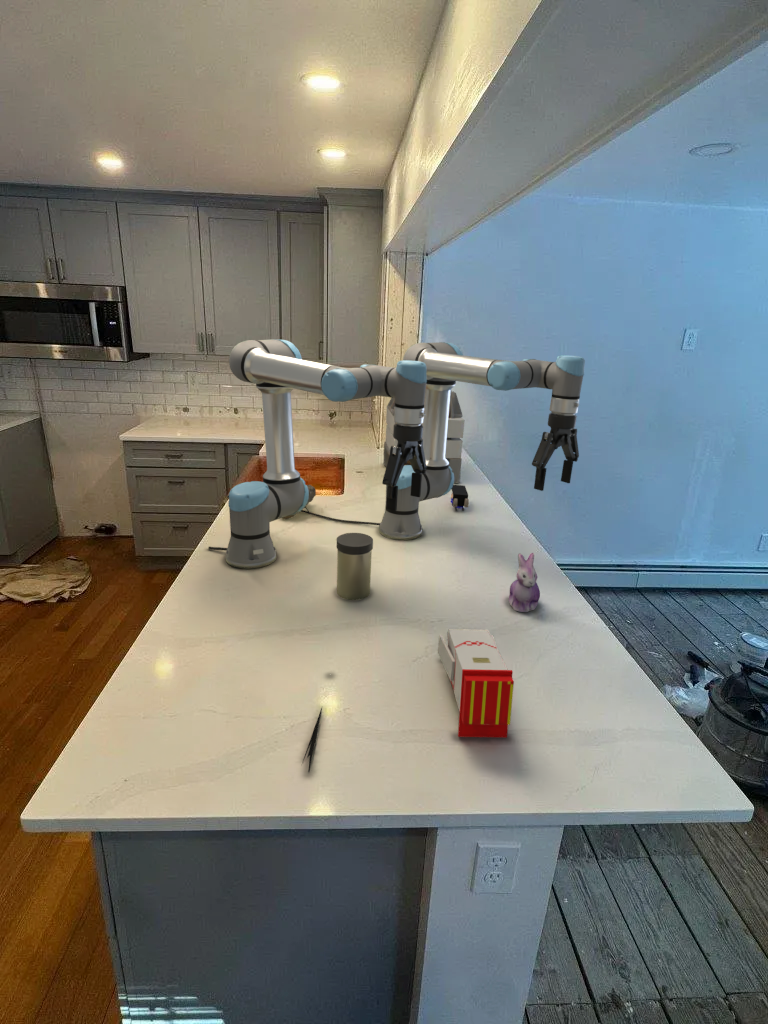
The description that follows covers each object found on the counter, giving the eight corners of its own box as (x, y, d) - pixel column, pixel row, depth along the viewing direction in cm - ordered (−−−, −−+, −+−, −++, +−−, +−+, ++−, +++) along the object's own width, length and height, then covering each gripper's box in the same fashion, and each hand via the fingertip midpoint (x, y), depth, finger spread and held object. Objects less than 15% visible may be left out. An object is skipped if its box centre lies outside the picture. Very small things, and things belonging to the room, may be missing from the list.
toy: (488, 613, 130) (523, 677, 101) (484, 667, 133) (517, 744, 104) (435, 612, 130) (455, 676, 101) (432, 666, 133) (451, 743, 103)
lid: (329, 548, 152) (329, 540, 151) (350, 537, 159) (350, 529, 159) (358, 557, 147) (359, 549, 146) (379, 545, 155) (380, 538, 154)
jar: (330, 593, 156) (330, 542, 151) (349, 581, 164) (351, 532, 158) (357, 603, 152) (358, 550, 146) (376, 590, 159) (378, 540, 154)
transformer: (382, 463, 289) (386, 382, 275) (445, 464, 293) (451, 384, 279) (390, 482, 257) (394, 392, 243) (460, 483, 261) (468, 394, 247)
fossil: (285, 490, 226) (313, 470, 221) (301, 508, 229) (329, 489, 224) (270, 515, 206) (301, 493, 201) (287, 534, 209) (318, 513, 204)
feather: (331, 679, 122) (336, 673, 122) (307, 777, 96) (313, 769, 95) (324, 675, 122) (329, 669, 121) (298, 772, 95) (304, 764, 95)
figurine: (522, 617, 148) (530, 565, 143) (498, 599, 157) (504, 549, 152) (549, 609, 153) (558, 559, 148) (524, 593, 161) (531, 544, 156)
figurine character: (468, 516, 224) (463, 500, 237) (471, 498, 221) (465, 483, 234) (452, 515, 224) (447, 499, 237) (453, 498, 220) (449, 482, 234)
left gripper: (397, 433, 132) (393, 518, 139) (442, 418, 153) (436, 493, 160) (370, 429, 136) (367, 512, 143) (417, 415, 156) (412, 488, 163)
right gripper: (548, 419, 148) (537, 496, 155) (598, 411, 163) (586, 482, 171) (525, 414, 153) (515, 489, 160) (575, 407, 169) (564, 476, 176)
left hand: (403, 502), depth 151 cm, fingers open, 13 cm apart
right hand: (552, 485), depth 166 cm, fingers open, 13 cm apart
